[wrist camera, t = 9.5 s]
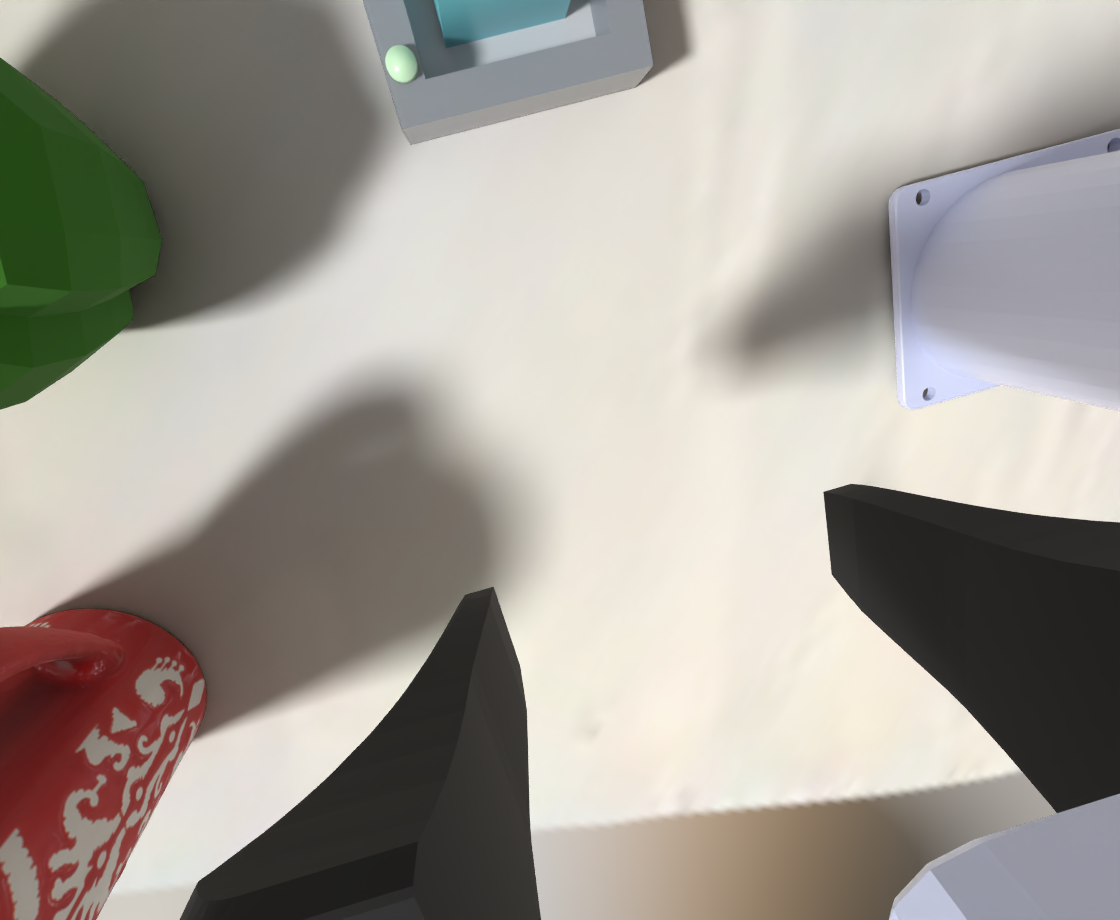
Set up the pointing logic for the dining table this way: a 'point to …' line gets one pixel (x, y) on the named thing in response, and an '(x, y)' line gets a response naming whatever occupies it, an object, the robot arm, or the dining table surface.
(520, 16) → the plug
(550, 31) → the port
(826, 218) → the dining table surface
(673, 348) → the dining table surface
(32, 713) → the mug
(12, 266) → the bell pepper
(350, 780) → the robot arm
